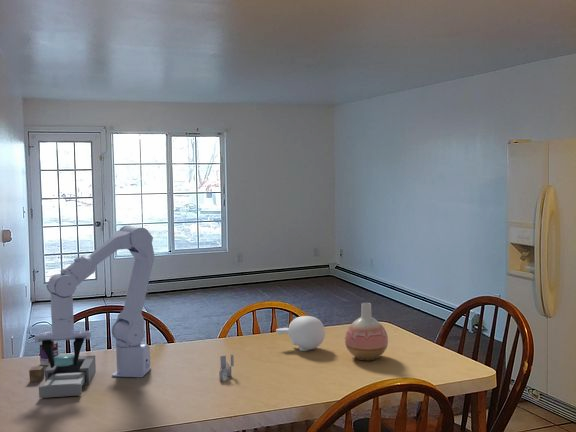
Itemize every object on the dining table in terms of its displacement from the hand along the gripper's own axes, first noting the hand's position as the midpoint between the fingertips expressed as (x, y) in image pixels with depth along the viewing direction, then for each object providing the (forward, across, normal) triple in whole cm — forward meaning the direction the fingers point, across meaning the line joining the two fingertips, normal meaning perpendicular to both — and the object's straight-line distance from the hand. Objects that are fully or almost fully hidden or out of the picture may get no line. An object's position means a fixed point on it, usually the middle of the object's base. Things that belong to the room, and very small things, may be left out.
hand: (64, 365), depth 170 cm
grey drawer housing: (+7, 0, -8) cm, 10 cm away
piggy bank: (+7, -74, -22) cm, 78 cm away
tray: (+7, 0, 0) cm, 7 cm away
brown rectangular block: (+7, +9, -10) cm, 15 cm away
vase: (+7, -91, -6) cm, 91 cm away
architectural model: (+7, -49, +4) cm, 50 cm away
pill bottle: (+7, +8, -26) cm, 28 cm away
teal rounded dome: (-1, 0, 0) cm, 1 cm away
